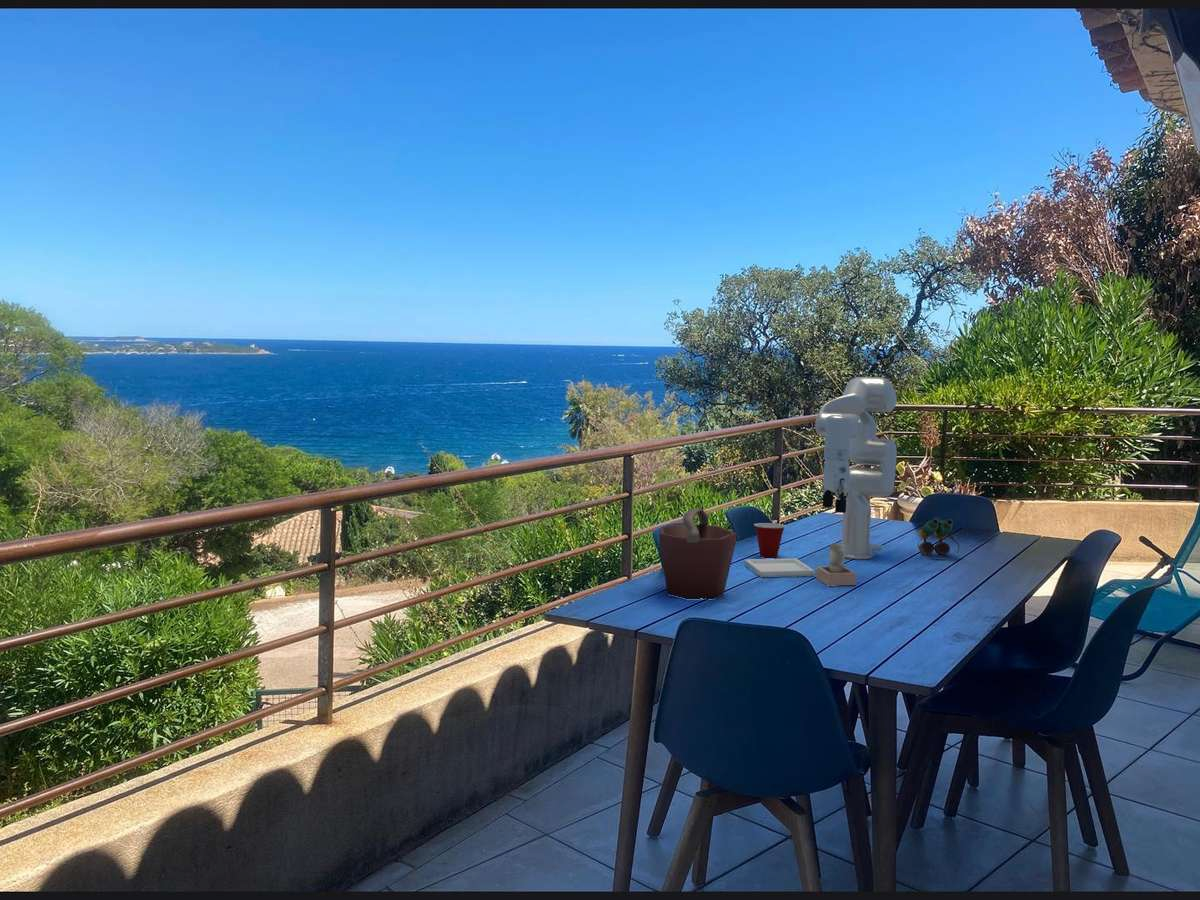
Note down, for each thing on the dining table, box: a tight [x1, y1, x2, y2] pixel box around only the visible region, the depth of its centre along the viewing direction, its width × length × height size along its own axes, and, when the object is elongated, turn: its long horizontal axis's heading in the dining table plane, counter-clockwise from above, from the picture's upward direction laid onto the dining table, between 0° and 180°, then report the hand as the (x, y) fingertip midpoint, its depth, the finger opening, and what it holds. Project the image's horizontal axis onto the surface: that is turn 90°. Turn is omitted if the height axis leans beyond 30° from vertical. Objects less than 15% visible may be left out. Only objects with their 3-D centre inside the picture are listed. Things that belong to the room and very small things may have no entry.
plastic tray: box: [744, 557, 816, 578], centre depth 269 cm, size 18×16×2 cm
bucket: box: [659, 508, 737, 599], centre depth 241 cm, size 24×22×25 cm
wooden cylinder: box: [828, 542, 845, 573], centre depth 256 cm, size 4×4×12 cm
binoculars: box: [917, 517, 960, 561], centre depth 290 cm, size 14×14×15 cm
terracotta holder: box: [815, 565, 857, 586], centre depth 256 cm, size 9×9×4 cm
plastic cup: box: [753, 522, 786, 559], centre depth 287 cm, size 11×11×12 cm
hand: (833, 509), depth 255 cm, fingers open, 9 cm apart
